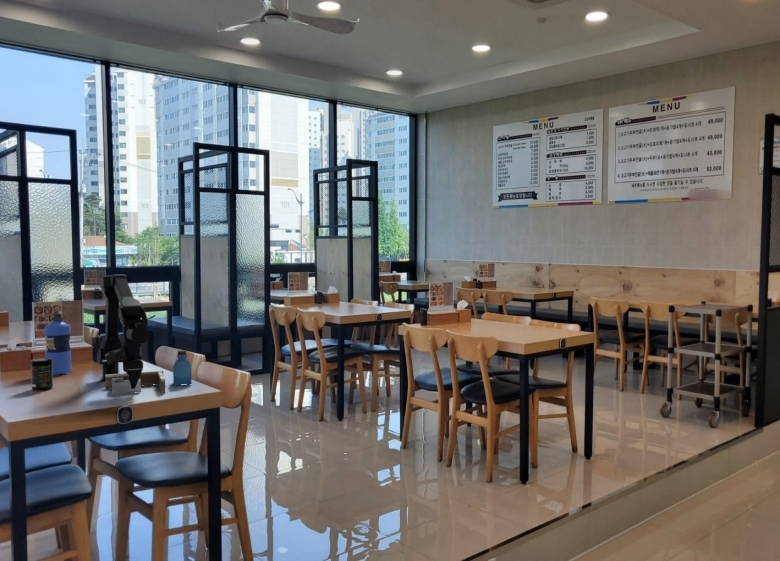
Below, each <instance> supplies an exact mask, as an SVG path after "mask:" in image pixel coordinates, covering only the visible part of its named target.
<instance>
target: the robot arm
mask: <svg viewBox="0 0 780 561" xmlns="http://www.w3.org/2000/svg"><path fill="white" fill-rule="evenodd" d="M99 287H100V289H101V293H102V294H103V296H104V298H105V329H104V330H105V332H104V334H105V336H104V337H103V338H102V340H101V341H100V345H99V348H98V351H97V355H96V364H98V365H100V366H101V372H102V374H101V375H102V376H101V378H100V380H101V381H102V382H103V381H105V382H106V380H105V375H108V374H120V369H119V363H122V371H123V373H127V374H128V376H129V380H130V384H131V389H135V387H136V385H137V382H138V380H139V377H140V375H141V372H143V369H144V361H143V360H142V344H144V343H146V342H147V341H148V340H149V338H150V332H149V330H148V328H146V327H144V325H147V324H148V317H147V313H146V310H145V309H144V307H143V305H142V303H141V302H140V300H138V299H136V298H134V295H133V292H132V290H131V288H130V285H129V283H128V275H127V274H124V273H122V274H121V273H120V274H119V273H118V274H117V273H114V274H111V275H103V276H102V277H101V278H100V280H99ZM119 322H120V323H121V325H122V341H121V339H120V338H119V329H120V328H119V327H120V326H119V324H120V323H119Z"/></svg>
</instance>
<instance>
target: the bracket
mask: <svg viewBox="0 0 780 561" xmlns="http://www.w3.org/2000/svg"><path fill="white" fill-rule="evenodd" d="M135 392H141V393H142V386H141V380H140V379H139V380H138V382H137V385H136V387H135V389H131V384H130V380H123V378H112V388H111V395H112V396H115V395H117V394H118V395H127V394H126V393H131V394H136V393H135ZM118 395H117V396H118Z"/></svg>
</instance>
